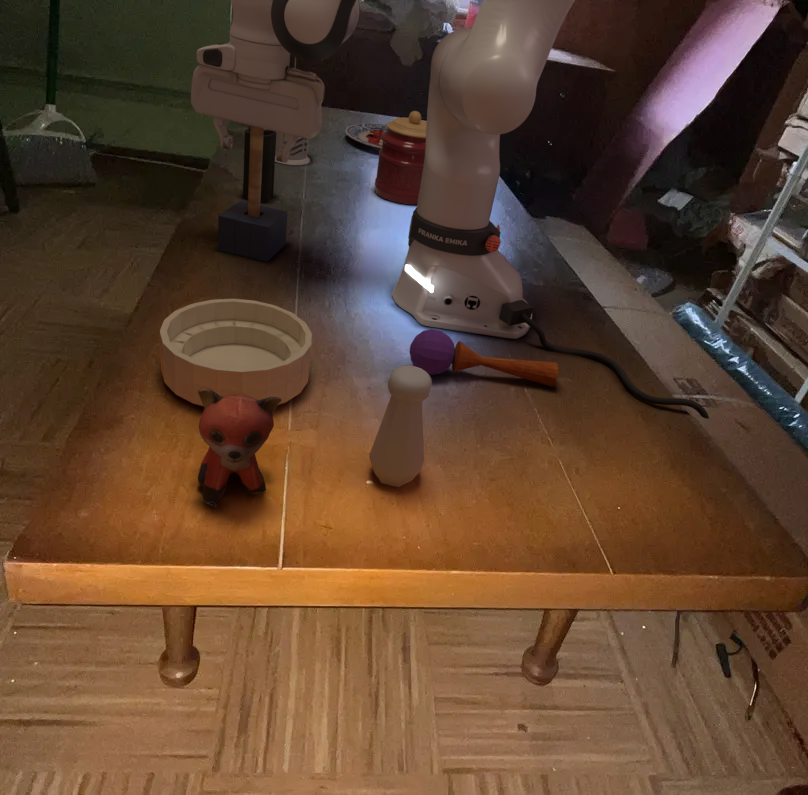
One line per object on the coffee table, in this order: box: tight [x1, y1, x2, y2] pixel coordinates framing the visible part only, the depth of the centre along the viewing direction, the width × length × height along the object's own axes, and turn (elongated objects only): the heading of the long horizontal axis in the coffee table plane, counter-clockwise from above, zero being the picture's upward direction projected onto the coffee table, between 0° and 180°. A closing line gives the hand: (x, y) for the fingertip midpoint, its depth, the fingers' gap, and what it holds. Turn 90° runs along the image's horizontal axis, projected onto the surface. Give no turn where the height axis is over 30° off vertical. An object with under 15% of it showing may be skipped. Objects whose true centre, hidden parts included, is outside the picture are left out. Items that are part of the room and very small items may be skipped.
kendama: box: [409, 328, 559, 387], centre depth 98 cm, size 6×6×20 cm
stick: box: [247, 126, 264, 218], centre depth 118 cm, size 2×2×22 cm
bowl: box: [159, 298, 313, 407], centre depth 89 cm, size 18×18×6 cm
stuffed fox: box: [197, 389, 282, 508], centre depth 71 cm, size 8×11×12 cm
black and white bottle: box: [242, 125, 276, 203], centre depth 138 cm, size 5×5×25 cm
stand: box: [217, 200, 289, 263], centre depth 122 cm, size 9×9×6 cm
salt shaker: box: [369, 365, 433, 488], centre depth 75 cm, size 6×6×13 cm
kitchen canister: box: [374, 110, 427, 205], centre depth 155 cm, size 13×13×18 cm
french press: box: [275, 56, 311, 166], centre depth 163 cm, size 10×12×25 cm
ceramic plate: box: [344, 122, 388, 151], centre depth 193 cm, size 26×26×3 cm
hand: (254, 154), depth 115 cm, fingers open, 8 cm apart
